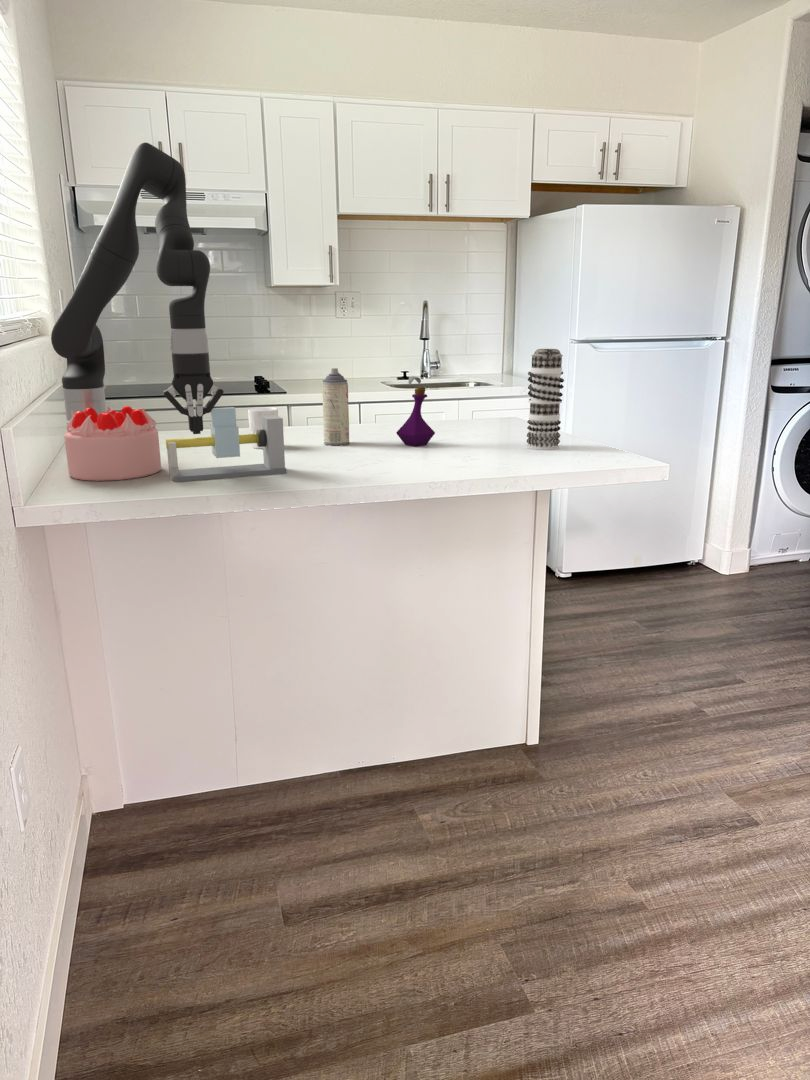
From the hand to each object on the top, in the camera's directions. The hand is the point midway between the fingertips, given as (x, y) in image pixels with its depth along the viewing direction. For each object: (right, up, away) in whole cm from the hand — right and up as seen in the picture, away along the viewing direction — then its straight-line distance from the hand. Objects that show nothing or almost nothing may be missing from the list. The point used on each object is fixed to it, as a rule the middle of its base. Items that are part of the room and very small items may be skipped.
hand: (196, 433), depth 170 cm
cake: (-20, -8, +8) cm, 23 cm away
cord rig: (+6, -8, +5) cm, 11 cm away
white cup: (+8, +2, +40) cm, 40 cm away
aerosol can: (+26, +3, +44) cm, 51 cm away
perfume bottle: (+48, +2, +42) cm, 63 cm away
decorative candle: (+81, +1, +37) cm, 89 cm away
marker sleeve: (+6, -4, +4) cm, 8 cm away
